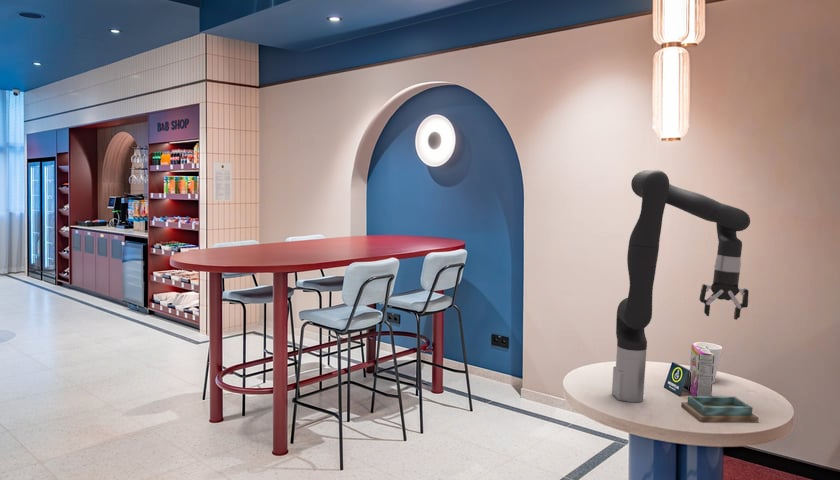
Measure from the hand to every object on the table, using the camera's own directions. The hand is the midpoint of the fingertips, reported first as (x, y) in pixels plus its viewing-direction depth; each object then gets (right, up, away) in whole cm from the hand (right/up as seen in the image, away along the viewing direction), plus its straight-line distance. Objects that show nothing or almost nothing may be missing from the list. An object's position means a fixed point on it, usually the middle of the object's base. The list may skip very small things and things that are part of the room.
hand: (721, 317), depth 200 cm
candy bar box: (-6, -27, +3) cm, 28 cm away
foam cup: (+4, -26, +20) cm, 33 cm away
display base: (-7, -29, -13) cm, 32 cm away
